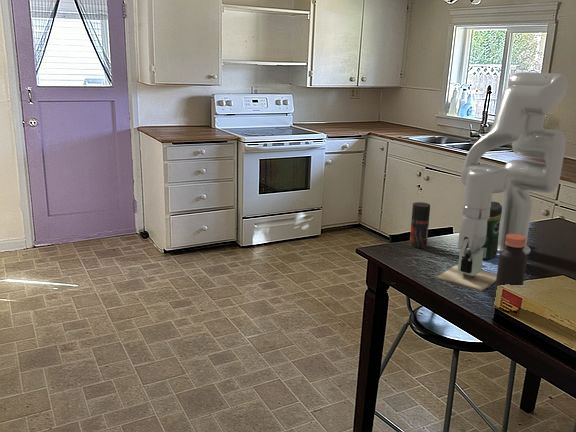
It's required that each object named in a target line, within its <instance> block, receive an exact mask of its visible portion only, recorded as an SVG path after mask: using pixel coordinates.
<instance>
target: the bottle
mask: <svg viewBox="0 0 576 432" xmlns="http://www.w3.org/2000/svg"><path fill="white" fill-rule="evenodd" d="M525 241H526V237H524V236H522V235H518V234H507V235H506V238H505V246H506V248H505V249H504V250H502V251H501V252H500V253H499V257H498V263H497V264H498V265H497V271H496V275H497V278H496V281H495V286H494V287H495V288H494V295H493V302H492V305H493V306H494V301H495V297H496V290H497V286H498V285H505V284H510V285H523V286H524V282H525V273H526V268H527V267H526V266H527V259H528V255H526V254H525V253H524V252H523V248H524V246H525Z"/></svg>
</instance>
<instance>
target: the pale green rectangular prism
mask: <svg viewBox="0 0 576 432" xmlns="http://www.w3.org/2000/svg"><path fill="white" fill-rule="evenodd" d="M467 250H470V248H467ZM483 252H484V251H482V250H478V249H477V250H475V251H473V254H472V259H471V261H473V262H472V270H471V273H470V274H469V273H465V272H462V271H460V269H461V260H462V259H461V254H460V252H459V255H458V256H459V257H458V263H457V264H458V272H461V273H465V274H468V275H472V276H475V275H476V274H478V273H479V272H481V271H482V267H483V260H484V259H483ZM467 254H468V255H469V254H470V252H467Z"/></svg>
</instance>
